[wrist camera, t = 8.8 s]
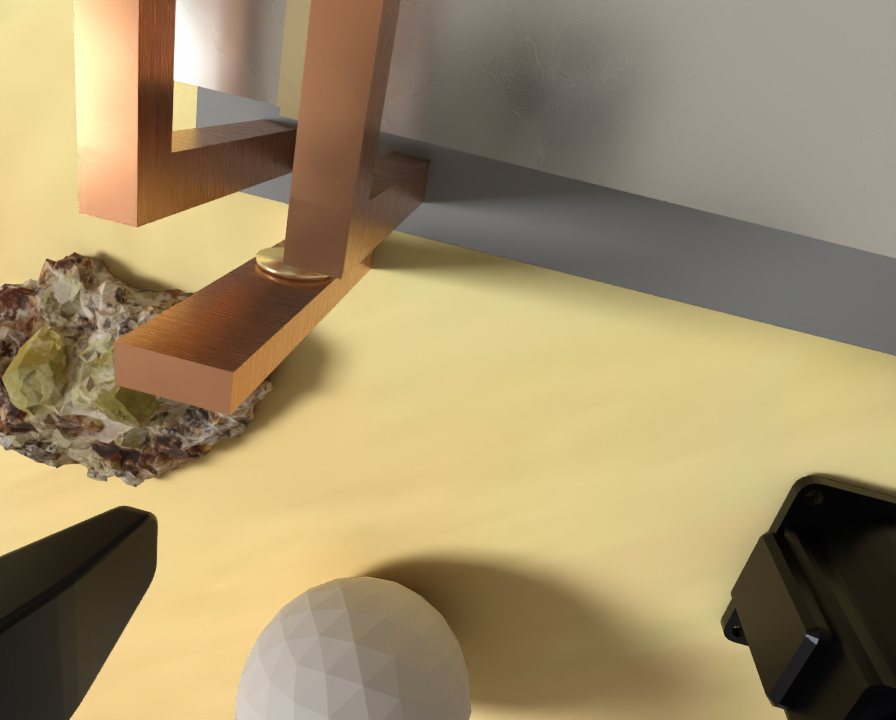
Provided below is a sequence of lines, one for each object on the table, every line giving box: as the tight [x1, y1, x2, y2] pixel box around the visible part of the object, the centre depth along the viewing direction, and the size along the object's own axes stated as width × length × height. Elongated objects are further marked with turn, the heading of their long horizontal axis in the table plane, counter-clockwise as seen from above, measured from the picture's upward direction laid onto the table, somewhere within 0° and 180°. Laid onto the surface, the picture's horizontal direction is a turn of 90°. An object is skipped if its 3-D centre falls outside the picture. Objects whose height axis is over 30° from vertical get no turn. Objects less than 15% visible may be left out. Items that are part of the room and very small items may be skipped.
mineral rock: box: [0, 252, 273, 487], centre depth 21 cm, size 11×4×8 cm
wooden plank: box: [114, 240, 373, 415], centre depth 14 cm, size 2×1×9 cm, turn 78°
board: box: [196, 86, 896, 356], centre depth 15 cm, size 22×11×1 cm, turn 78°
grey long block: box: [174, 0, 896, 258], centre depth 13 cm, size 15×5×5 cm, turn 78°
